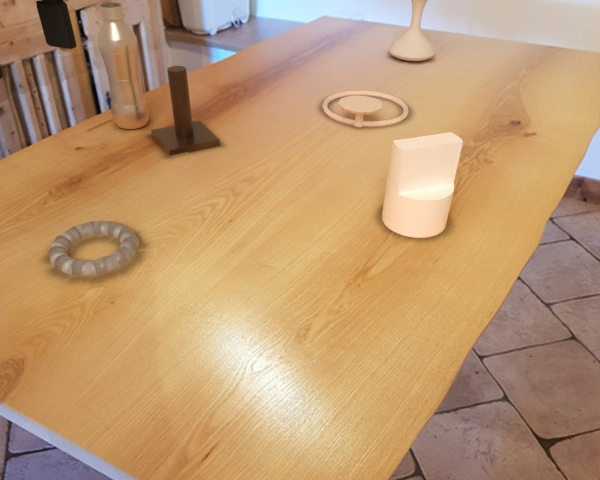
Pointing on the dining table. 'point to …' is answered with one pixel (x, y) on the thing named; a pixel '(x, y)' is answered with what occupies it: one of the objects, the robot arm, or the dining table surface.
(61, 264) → the segmented ring
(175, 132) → the stand
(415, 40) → the flower in vase
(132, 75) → the plastic bottle
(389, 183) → the cylinder with rectangular tab
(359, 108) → the hand towel holder
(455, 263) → the dining table surface
